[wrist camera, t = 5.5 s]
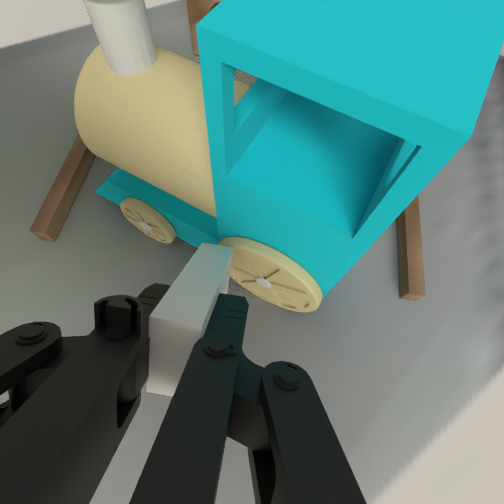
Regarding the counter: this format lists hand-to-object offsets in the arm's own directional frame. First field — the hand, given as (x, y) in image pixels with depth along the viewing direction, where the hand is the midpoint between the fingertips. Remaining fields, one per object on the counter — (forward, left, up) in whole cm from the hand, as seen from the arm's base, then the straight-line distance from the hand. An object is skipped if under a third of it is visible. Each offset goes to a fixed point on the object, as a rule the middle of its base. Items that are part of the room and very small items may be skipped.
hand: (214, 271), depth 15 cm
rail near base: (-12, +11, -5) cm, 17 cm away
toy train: (-1, +6, -5) cm, 8 cm away
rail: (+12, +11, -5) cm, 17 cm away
